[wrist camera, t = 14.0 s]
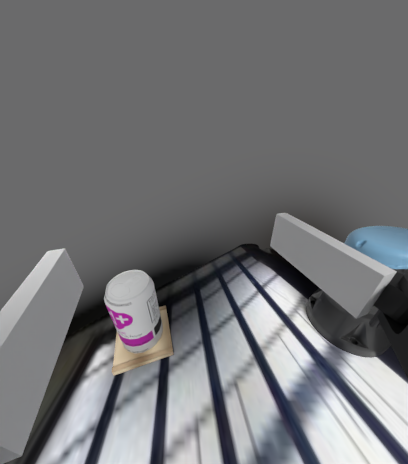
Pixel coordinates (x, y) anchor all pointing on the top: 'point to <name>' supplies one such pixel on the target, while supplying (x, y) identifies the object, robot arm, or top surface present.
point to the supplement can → (134, 310)
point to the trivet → (159, 351)
